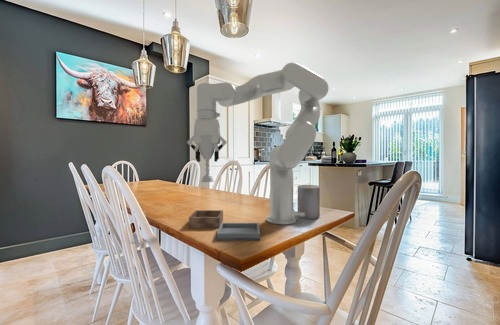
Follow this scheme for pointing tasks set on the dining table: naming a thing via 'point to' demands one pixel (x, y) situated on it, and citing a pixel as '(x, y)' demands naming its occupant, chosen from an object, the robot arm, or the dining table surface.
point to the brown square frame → (206, 219)
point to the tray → (238, 231)
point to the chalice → (207, 155)
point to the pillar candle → (309, 201)
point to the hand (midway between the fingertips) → (207, 161)
